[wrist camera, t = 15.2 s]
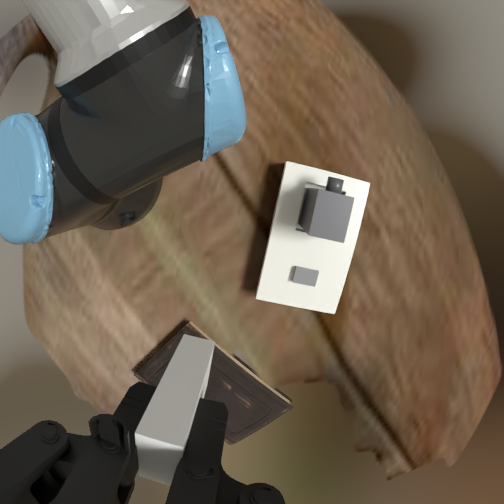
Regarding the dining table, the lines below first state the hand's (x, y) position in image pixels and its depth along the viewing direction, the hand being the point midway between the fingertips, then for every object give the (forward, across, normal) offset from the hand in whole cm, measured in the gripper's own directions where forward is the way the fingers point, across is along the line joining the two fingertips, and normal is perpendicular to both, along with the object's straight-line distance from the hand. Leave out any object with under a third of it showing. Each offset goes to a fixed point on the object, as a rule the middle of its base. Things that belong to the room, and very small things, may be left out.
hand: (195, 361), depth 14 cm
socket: (+28, +9, +3) cm, 30 cm away
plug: (+28, +9, +7) cm, 30 cm away
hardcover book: (+29, 0, -26) cm, 39 cm away
